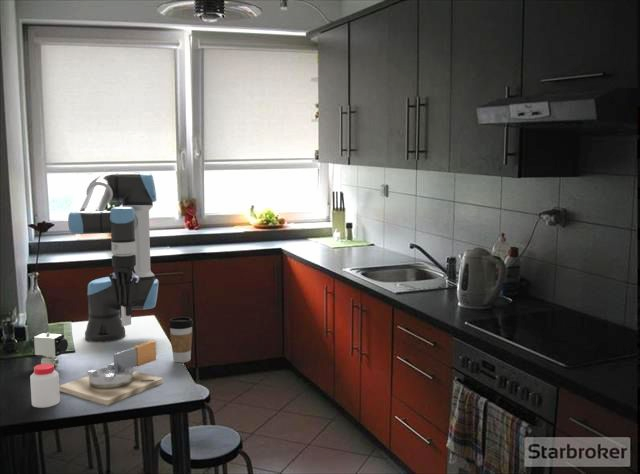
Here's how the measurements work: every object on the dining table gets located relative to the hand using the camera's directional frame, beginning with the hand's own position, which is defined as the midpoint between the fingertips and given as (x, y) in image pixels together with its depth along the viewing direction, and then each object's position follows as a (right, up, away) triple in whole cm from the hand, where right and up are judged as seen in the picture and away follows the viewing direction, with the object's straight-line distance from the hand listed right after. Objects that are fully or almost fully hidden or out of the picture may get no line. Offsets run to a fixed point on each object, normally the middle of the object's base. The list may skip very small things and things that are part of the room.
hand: (126, 324), depth 219 cm
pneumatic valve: (-28, -15, +7) cm, 33 cm away
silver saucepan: (+2, -15, -8) cm, 17 cm away
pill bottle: (-16, -20, -25) cm, 36 cm away
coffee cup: (+15, -14, +14) cm, 25 cm away
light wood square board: (-1, -18, -12) cm, 21 cm away
